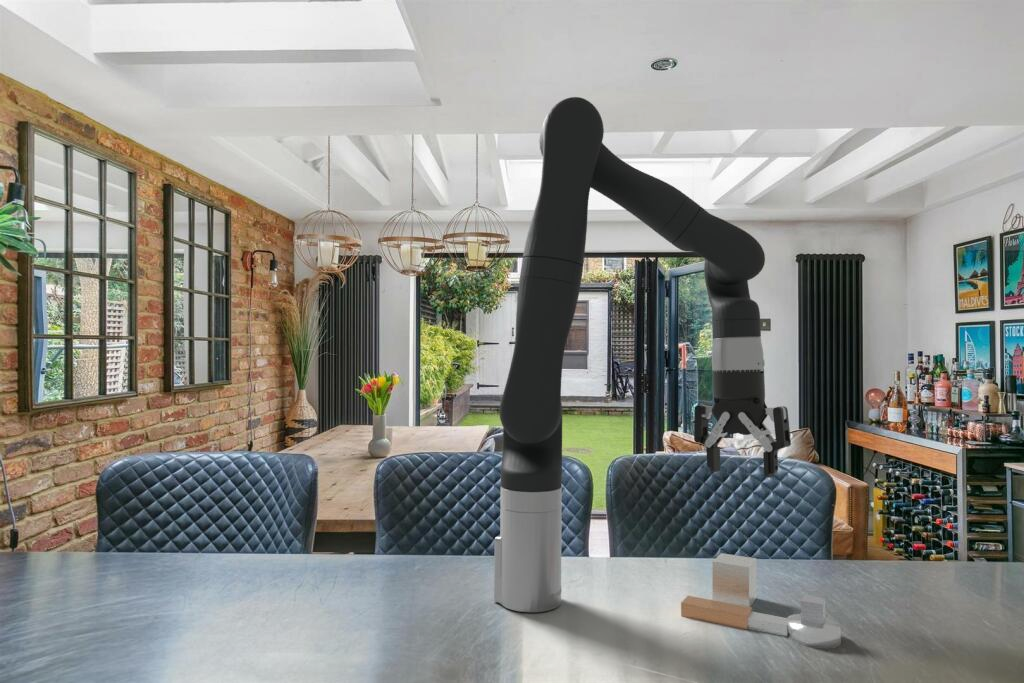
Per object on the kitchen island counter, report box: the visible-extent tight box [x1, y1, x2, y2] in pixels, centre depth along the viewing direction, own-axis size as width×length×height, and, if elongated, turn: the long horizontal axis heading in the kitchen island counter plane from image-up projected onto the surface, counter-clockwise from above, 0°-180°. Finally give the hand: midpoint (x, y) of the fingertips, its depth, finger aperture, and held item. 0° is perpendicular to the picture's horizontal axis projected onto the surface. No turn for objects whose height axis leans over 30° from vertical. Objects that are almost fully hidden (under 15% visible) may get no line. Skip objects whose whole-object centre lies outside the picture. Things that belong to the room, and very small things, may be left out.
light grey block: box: [711, 552, 758, 608], centre depth 100 cm, size 5×5×6 cm
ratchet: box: [680, 594, 842, 650], centre depth 90 cm, size 20×6×5 cm, turn 59°
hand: (741, 474), depth 101 cm, fingers open, 8 cm apart
